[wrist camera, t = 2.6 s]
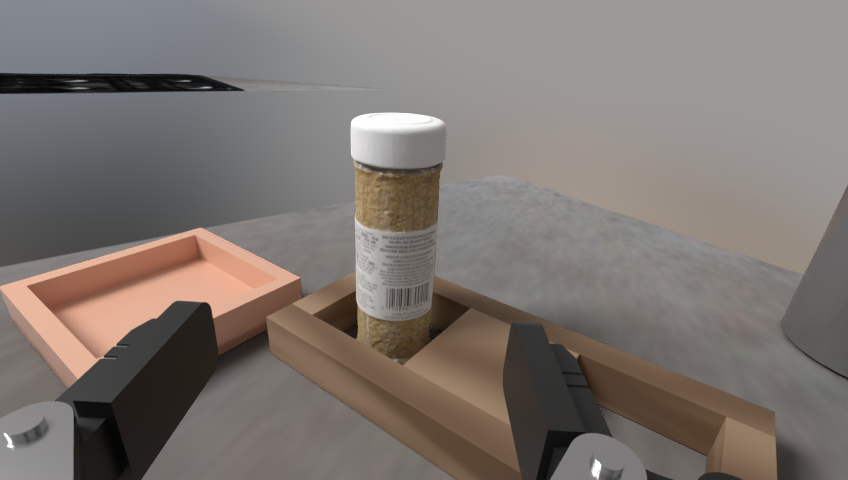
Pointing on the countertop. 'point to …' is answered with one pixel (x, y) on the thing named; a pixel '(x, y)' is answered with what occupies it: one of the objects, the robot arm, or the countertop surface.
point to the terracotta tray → (145, 297)
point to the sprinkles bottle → (396, 228)
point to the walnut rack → (483, 385)
